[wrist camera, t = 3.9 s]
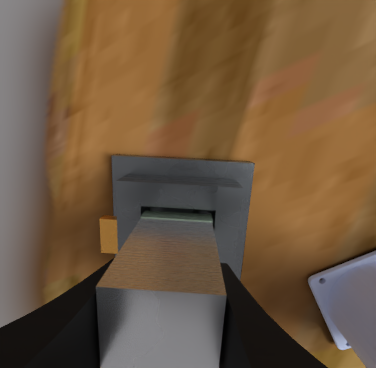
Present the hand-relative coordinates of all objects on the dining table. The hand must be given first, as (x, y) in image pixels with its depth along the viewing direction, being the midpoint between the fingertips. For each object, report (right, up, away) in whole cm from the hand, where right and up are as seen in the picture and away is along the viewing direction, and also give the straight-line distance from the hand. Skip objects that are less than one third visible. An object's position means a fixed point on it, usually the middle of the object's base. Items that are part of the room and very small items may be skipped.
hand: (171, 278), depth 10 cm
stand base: (0, +2, +7) cm, 7 cm away
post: (0, +1, +3) cm, 3 cm away
